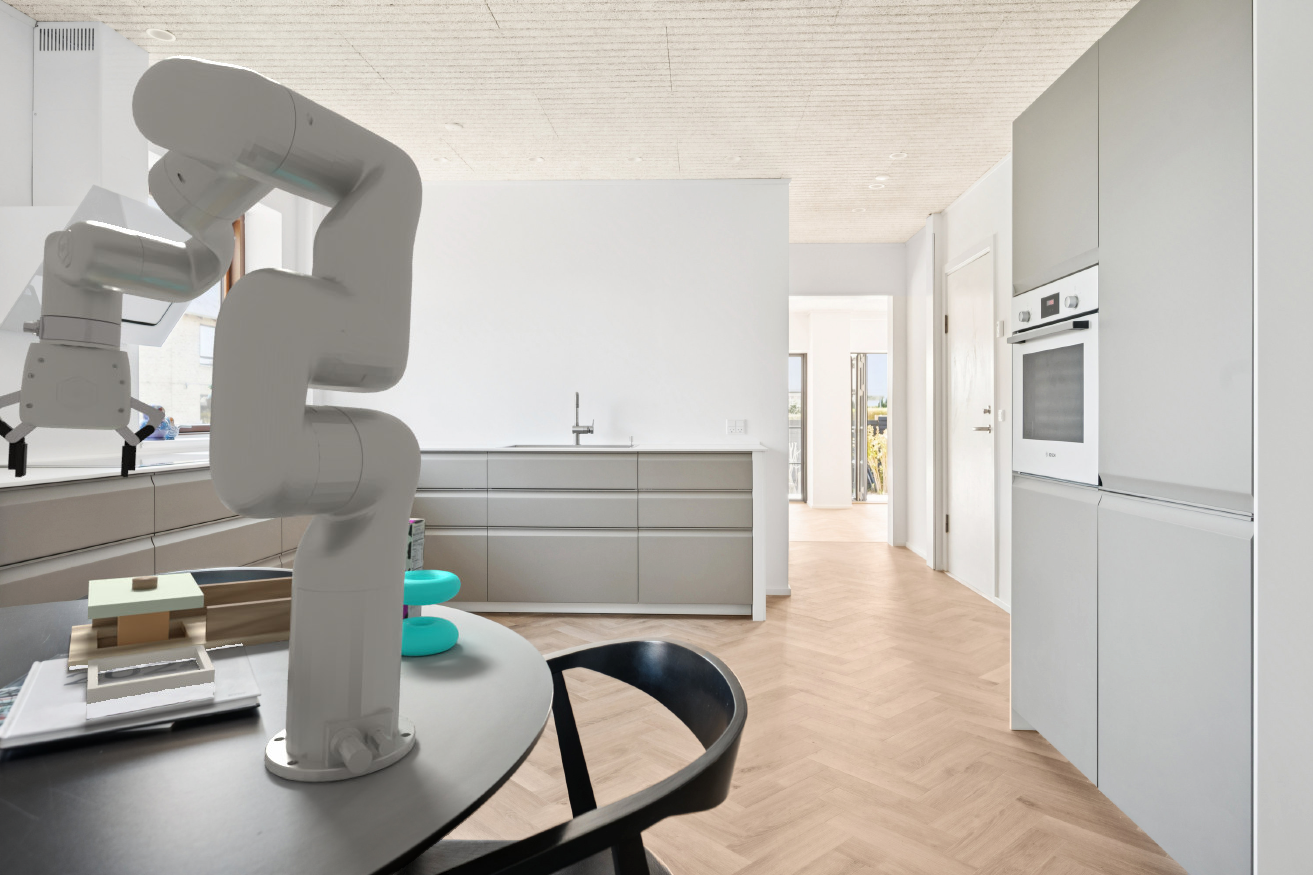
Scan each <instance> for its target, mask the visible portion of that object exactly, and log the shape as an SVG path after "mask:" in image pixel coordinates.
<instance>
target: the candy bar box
mask: <svg viewBox="0 0 1313 875" xmlns="http://www.w3.org/2000/svg"><path fill="white" fill-rule="evenodd" d="M425 535H426V519H425V518H415V517H410V520H409V527H408V536H407V548H406V566H405V572H406V571H414V570H424V560H425V559H424V558H425V556H424V555H425V540H426V539H425V537H426V536H425ZM421 616H422V606H413V605H404V604H403V619H406V618H411V617H421Z"/></svg>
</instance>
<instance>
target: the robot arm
mask: <svg viewBox="0 0 1313 875" xmlns="http://www.w3.org/2000/svg"><path fill="white" fill-rule="evenodd" d="M131 100H132V102H131V110H132V116H133V120H134V123H135V126H136V128H137V129H138V131H139V132H140V133H141V135H143V137H144V138H145V139H146V140H148V141H149V142H151V143H152V144H154V145H156V146H158V147H160V148H163V149H166V150H168V151H167V152H165V154H163V156H162V157H160V158H159V159H158V160H157V161H156V162H155V163H154V164H153V165H152V166H151V167H150V170H149V172H148V176H147V185H148V187H149V188H148V189H149V193H150V194H151V196H152V198H153V200H154V202H155V204H157V206H158V208H159V209H160V210H161V211H162V212H163V213H164V214H165V215H166V216H167V217H168V218H169V220H170V221H172V222H173V223H175V224H176V225H177V226H178V227H180V228H181V229H182V230H184V231H185V232H186V233H187V234H189V236H191V237H190V238H188V240H185V241H184V242H176V241H172V240H169V239H165V238H162V237H159V236H153V235H150V234H146V233H142V232H139V231H136V230H131V229H126V228H122V227H119V226H115V225H111V224H109V223H108V224H107V223H104V222H101V221H100V222H98V221H95V220H82V221H80V220H79V221H76V222H74V223H72V224H71V225H70V226H68V227H66V229H65V230H56V231H52V232H51V233H49V234H48V235H47V236H46V238H45V239H44V246H43V266H42V287H41V305H40V307H41V308H40V316H39V319H36V320H35V321H34V320H32V321H25V320H24V321H23V325H22V326H23V328H22V330H23V333H29V334H31V335H34V336H36V337H38V339H39V341H38V342H30V344H29V346H28V350H27V352H26V357H25V360H24V364H23V371H22V378H21V386H20V389H19V390H16V391H14V392H10V393H7V394H4V395H1V396H0V409H3V408H7V407H10V406H12V405H15V404H19V407H18V411H19V412H18V415H19V419H20V421H21V423H19V424H18V425H17V426H15V427H14V428H13V427H12V426H11V425H10V424H8V423H7V422H6V421H4V420H3V419H2V416H0V436H1V437H2V438H3V439H4V440H5V441H6V442H8V458H7V462H8V463H7V470H8V471H9V470H10V471H14V478H22V477H24V476H26V475H27V462H28V460H27V459H28V446H29V444H28V443H27V442H26V436H28V435H29V434H30V433H31V432H33V431H34V430H35V429H37V428H43V429H44V428H47V429H48V428H49V429H66V430H68V429H71V430H97V431H98V430H99V431H101V430H102V431H105V430H106V431H116V433H118V435H119V436H120V437H122V439H123V440H124V444H123V445H122V446H121V448H122V449H121V463H120V464H121V465H120V477H122V478H126V479H127V478H129V471H130V472H132V471H133V472H134V471H136V465H137V464H136V463H137V446H138V445H139V444H141V443H142V442H143V441H145V440H146V439H148V437H150V436H151V435H153V434H154V433H155V432H156V430H157V429H158V427H159V426H160V425H161V423H162V422H163V420H164V419H165V417H166V413H165V412H164V411H162V410H160V409H157V408H156V407H154V406H151V405H150V404H148V403H145V402H143V401H141V400H139V399H137V398H134V397H132V378H131V366H130V359H129V354H128V351H125V350H124V351H123V350H121V338H122V337H121V335H122V318H123V296H124V295H123V294H125V295H129V296H130V295H131V296H135V297H141V298H146V299H149V300H155V301H156V300H157V301H159V302H160V301H161V302H167V303H173V304H175V303H176V304H178V303H182V304H183V303H187V302H190V301H192V300H196V299H198V297H201V296H202V295H204V294H205V293H207V292H208V291H209V290H211V288H213V287H214V286H216V285H217V284H218V283H219V282H220V281H221V280H222V279H223V278H225V276H226V275H227V273H228V271H229V269H230V267H231V265H232V261H233V259H234V254H235V247H236V237H235V231H234V230H235V229H234V226H233V223H235V221H237V220H238V219H239V218H241V217H242V216H243V215H244V214H245V213H246V212H248V211H249V210H250V209H252V207H254V206H255V205H256V204H257V203H259V202H260V201H261V200H262V199H264V198H265V197H267V196H268V194H270V193H271V192H272V191H274V189H277V190H278V189H279V190H281V191H283V192H286V193H289V194H292V195H294V196H298V197H300V198H304V199H306V200H309V201H312V202H314V203H317V204H320V205H322V206H325V207H328V208H331V209H330V210H329V211H328V213H327V214H326V215H325V216H324V218H323V219H322V220H321V222H320V224H319V226H318V228H317V230H316V232H315V234H314V239H313V243H312V244H313V246H312V268H311V275H310V274H306V273H303V272H299V271H297V270H291V269H287V268H278V267H263V268H258V269H255V270H254V269H253V270H252V271H249V272H247V273H245V274H244V275H242V276H241V277H240V278H239V279H237V280H236V281H235V283H234V284H232V286H231V288H230V289H229V290H228V292H227V293H226V295H225V297H224V299H223V301H222V303H221V305H220V308H219V311H218V315H217V318H216V323H215V329H214V338H213V349H212V350H213V352H212V375H211V377H212V378H211V392H210V393H211V396H210V398H211V399H210V401H211V402H210V417H209V418H210V421H209V445H208V446H209V447H208V448H209V449H208V458H209V460H208V461H209V462H208V463H209V470H210V471H209V472H210V478H211V483H212V486H213V489H214V491H215V494H216V496H217V498H218V499H219V501H220V503H221V504H223V506H224V507H225V508H226V509H227V510H229V511H231V512H232V513H234V515H235V514H236V515H238V516H240V517H243V518H249V519H255V520H256V519H258V520H261V519H263V520H265V519H266V520H267V519H268V520H269V519H279V518H281V519H282V518H283V519H285V518H286V519H287V518H293V517H304V516H312V518H311V520H310V521H309V524H308V525H307V527H306V529H305V531H304V532H303V534H302V536H301V539H300V540H299V543H298V545H297V548H296V552H295V555H294V560H293V564H292V576H291V577H292V589H291V613H290V637H289V640H288V641H289V642H288V664H287V668H288V669H287V687H286V689H287V690H286V691H287V692H286V712H285V713H286V714H285V717H286V718H285V728H284V729H283V730H281V731H280V732H278V733H276V734H275V735H274V736H273V737H272V738H270V740H269V741H268V742H267V744H266V746H265V749H264V758H263V759H264V760H263V761H264V765H265V767H266V768H267V770H268V771H269V772H271V773H272V774H274V775H276V776H278V777H281V778H282V779H287V780H291V781H292V780H293V781H297V782H309V783H311V782H312V783H316V782H317V783H318V782H320V783H321V782H332V781H334V782H335V781H340V780H341V781H342V780H347V779H351V778H357V777H358V778H359V777H361V776H365V775H368V774H371V773H374V772H377V771H379V770H381V769H382V770H383V769H385V768H386V767H389V766H391V765H393V764H395V763H397V762H399V761H400V760H401V759H402V758H404V757H405V756H406V755H408V754H409V752H410V751H411V750H412V749H413V747H414V745H415V743H416V733H417V731H416V727H415V725H414V723H413V722H412V721H410V719H408V718H407V717H405V716H403V715H400V698H401V697H400V696H401V695H400V694H401V692H400V691H401V674H402V673H401V671H402V670H401V669H402V667H401V666H402V655H401V649H402V625H403V600H404V580H405V566H406V548H407V536H408V527H409V520H410V518H411V513H412V509H413V505H414V501H415V496H416V492H417V490H418V489H417V488H418V484H419V481H420V475H421V467H422V455H421V448H420V444H419V442H418V439H417V437H416V435H415V433H414V431H413V430H412V429H411V428H410V427H409V426H408V424H406V423H405V422H404V421H403V420H401V418H398V417H396V416H395V415H393V414H390V413H388V412H383V411H381V410H377V409H372V408H363V407H353V406H340V405H339V406H338V405H329V404H328V405H317V404H316V405H315V404H307V397H308V389H312V390H322V391H333V392H344V393H345V392H346V393H355V394H356V393H358V394H371V393H380V392H384V391H388V390H390V389H391V388H393V387H395V386H396V385H398V383H400V381H401V380H402V378H403V376H404V375H405V372H406V369H407V364H408V360H409V354H410V353H409V352H410V340H411V339H410V338H411V336H410V335H411V319H412V318H411V317H412V316H411V315H412V314H411V313H412V294H413V293H412V292H413V291H412V290H413V259H414V257H413V256H414V248H415V247H414V246H415V242H416V235H417V230H418V225H419V222H420V217H421V212H422V206H423V183H422V178H421V175H420V171H419V170H418V169H419V168H418V167H417V165H416V163H415V161H414V160H413V159H412V157H411V156H410V155H409V154H408V153H407V152H406V151H405V150H403V148H401V147H399V146H398V145H396V144H394V143H393V142H392V141H389V140H388V139H386V138H384V137H382V136H381V135H378V134H377V133H375V132H373V131H371V130H369V129H368V128H366V127H364V126H362V125H360V124H357V123H356V122H354V121H352V120H351V119H348V117H345V116H344V115H341V114H340V113H337V112H336V111H334V110H331V109H329V108H327V107H326V106H323V105H321V104H320V103H318V102H315V101H314V100H312V99H310V98H308V97H307V96H304V95H303V94H301V93H299V92H297V91H295V90H293V89H291V88H289V87H287V86H286V85H284V84H282V83H280V82H278V81H276V80H274V79H272V78H270V77H268V76H266V75H264V74H261V73H259V72H257V71H255V70H252V69H249V68H246V67H242V66H239V65H234V64H228V63H223V62H222V63H221V62H216V61H211V60H206V59H201V58H196V57H191V56H186V55H185V56H183V55H182V56H181V55H179V56H178V55H177V56H170V57H167V58H163V59H161V60H159V61H157V62H156V63H154V64H152V65H151V66H150V67H149V68H147V70H146V71H145V72H144V73H143V74H142V75H141V77H140V78H139V80H138V81H137V83H136V86H135V88H134V92H133V94H132V99H131ZM132 409H133V410H135V411H137V412H139V413H142V414H144V415H146V416H147V417H148V420H147V422H146V423H145V425H144V426H142V428H140V429H139V430H137V431H136V432H135V433H134V431H133V430H131V429H130V428H129V424H130V421H131V412H132Z"/></svg>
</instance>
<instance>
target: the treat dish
mask: <svg viewBox="0 0 1313 875" xmlns="http://www.w3.org/2000/svg"><path fill="white" fill-rule="evenodd" d="M190 658H196V661H197V663H198V666H199V668H198V669H196V670H188V671H181V672H177V673H171V674H163V675H162V674H161V675H158V676H157V675H156V676H150V677H149V676H148V677H143V678H139V679H131V680H125V681H118V682H113V683H112V682H111V683H105V684H99V675H98V672H100V671H107V670H112V669H116V668H124V667H130V666H136V665H141V664H149V663H156V662H161V661H176V660H182V659H190ZM211 660H212V659H211V658H210V657H209V654H208V651H207V652H206V650H205V648H204V646H203V645H196V646H188V647H181V648H174V649H166V650H159V651H152V652H144V653H137V654H130V655H122V656H115V657H108V658H100V659H93V660H88V669H87V680H88V681H87V685H86V686H87V687H86V692H87V693H86V705H87V704H91V703H96V702H101V701H106V700H110V699H118V698H122V697H127V696H135V695H141V694H145V693H150V692H158V691H162V690H165V689H175V688H180V687H186V686H192V685H200V684H204V683H211V682H214V683H215V680H216V679H215V678H216V676H215V674H216V669H215V667H214V664H213V663H212V661H211ZM196 661H195V662H196ZM198 666H197V667H198ZM199 669H200V670H199Z"/></svg>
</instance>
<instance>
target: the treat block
mask: <svg viewBox="0 0 1313 875" xmlns="http://www.w3.org/2000/svg"><path fill="white" fill-rule="evenodd" d="M169 612H170V611H164V612H154V613H145V614H136V615H126V616H118V628H117V645H118V646H123V645H131V644H139V643H147V642H154V641H162V640H168V636H169Z"/></svg>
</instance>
